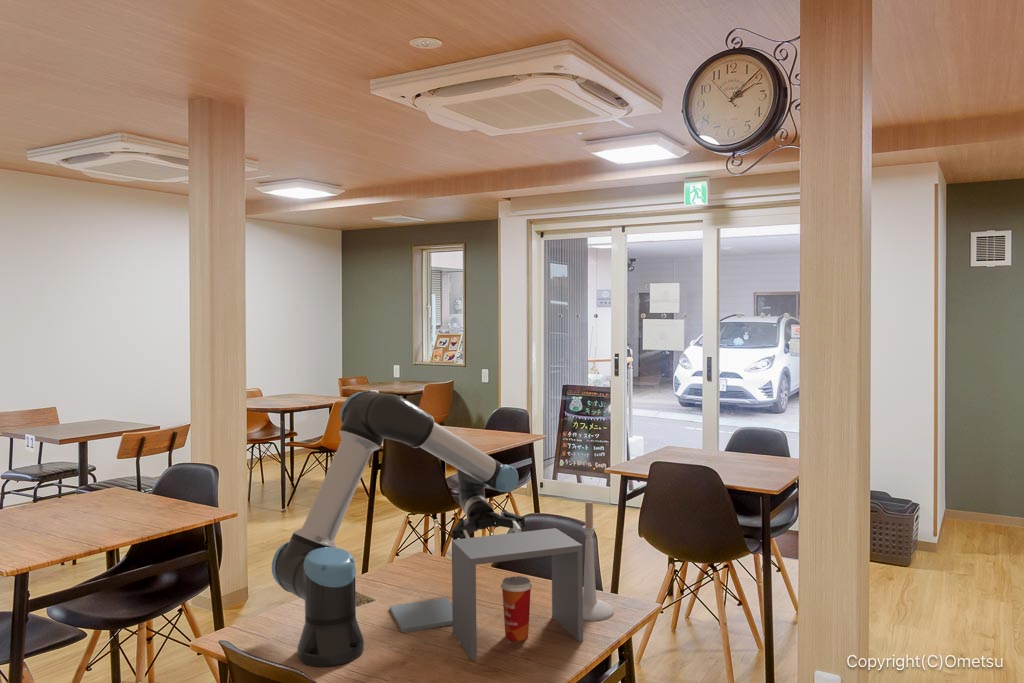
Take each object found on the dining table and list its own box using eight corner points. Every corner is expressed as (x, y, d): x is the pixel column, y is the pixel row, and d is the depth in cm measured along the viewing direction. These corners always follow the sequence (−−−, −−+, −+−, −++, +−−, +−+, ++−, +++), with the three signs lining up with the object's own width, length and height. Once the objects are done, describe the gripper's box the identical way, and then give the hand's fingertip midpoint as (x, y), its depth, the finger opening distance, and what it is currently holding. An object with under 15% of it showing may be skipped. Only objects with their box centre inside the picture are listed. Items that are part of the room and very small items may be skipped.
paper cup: (497, 632, 183) (497, 577, 183) (526, 628, 186) (526, 573, 185) (506, 645, 176) (506, 587, 176) (536, 641, 178) (536, 584, 178)
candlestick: (621, 608, 199) (621, 498, 198) (600, 624, 188) (599, 508, 187) (579, 599, 206) (579, 492, 205) (557, 614, 195) (556, 502, 194)
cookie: (377, 601, 206) (377, 598, 206) (340, 614, 197) (340, 610, 197) (352, 591, 214) (352, 587, 214) (316, 602, 206) (316, 599, 205)
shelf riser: (471, 660, 168) (470, 558, 168) (452, 633, 183) (451, 539, 183) (582, 640, 178) (582, 545, 178) (556, 616, 193) (555, 528, 193)
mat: (401, 632, 184) (401, 628, 184) (389, 609, 199) (389, 605, 199) (463, 623, 190) (462, 619, 190) (446, 601, 205) (446, 597, 205)
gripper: (522, 517, 214) (542, 543, 193) (438, 533, 208) (449, 561, 188) (519, 492, 213) (539, 515, 192) (435, 508, 208) (446, 533, 187)
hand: (495, 538), depth 190 cm, fingers open, 13 cm apart
